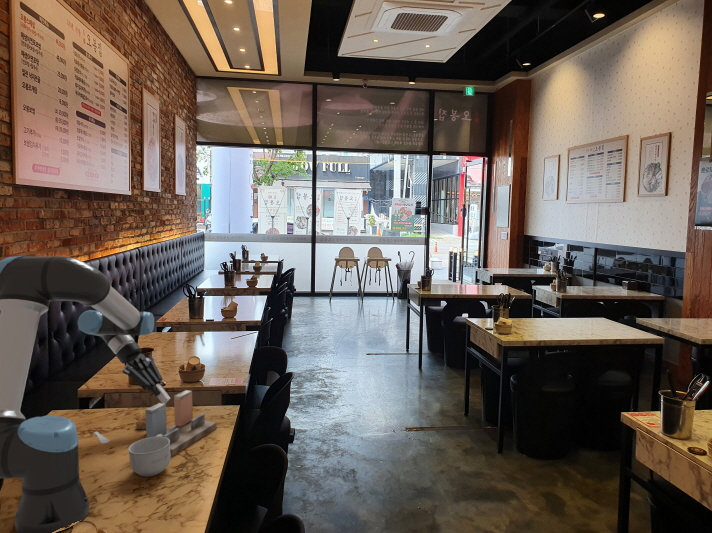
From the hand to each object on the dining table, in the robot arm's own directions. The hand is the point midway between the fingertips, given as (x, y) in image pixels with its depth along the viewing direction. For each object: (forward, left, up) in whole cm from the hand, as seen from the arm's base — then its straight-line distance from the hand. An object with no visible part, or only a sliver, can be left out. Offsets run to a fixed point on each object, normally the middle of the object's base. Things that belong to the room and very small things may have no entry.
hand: (166, 401), depth 179 cm
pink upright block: (0, -7, -6) cm, 9 cm away
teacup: (-26, -17, -9) cm, 32 cm away
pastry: (-1, +6, -9) cm, 11 cm away
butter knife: (-12, +20, -9) cm, 25 cm away
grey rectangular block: (-13, -7, -6) cm, 16 cm away
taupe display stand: (-7, -11, -9) cm, 15 cm away
